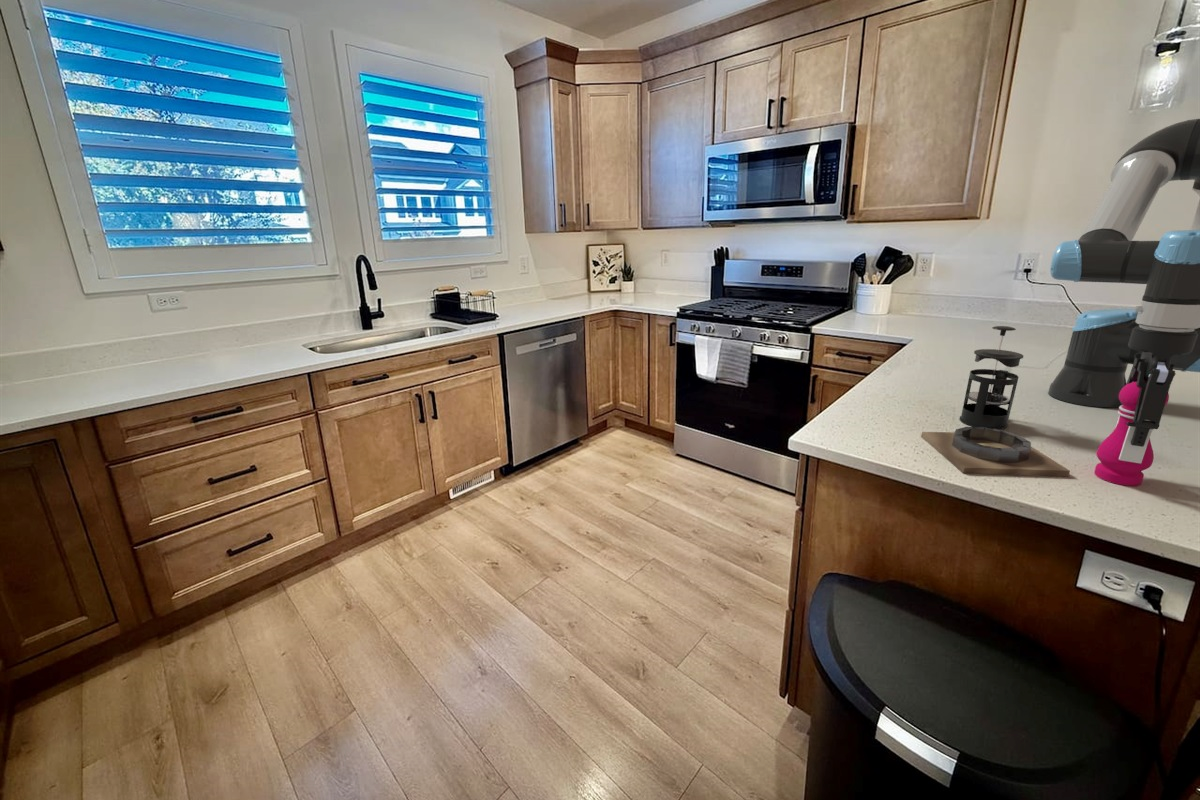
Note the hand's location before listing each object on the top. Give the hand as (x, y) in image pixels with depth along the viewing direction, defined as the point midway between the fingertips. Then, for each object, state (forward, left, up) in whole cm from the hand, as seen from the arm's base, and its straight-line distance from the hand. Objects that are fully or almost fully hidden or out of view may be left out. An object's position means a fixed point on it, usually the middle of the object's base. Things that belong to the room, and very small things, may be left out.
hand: (1125, 452), depth 92 cm
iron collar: (+17, -9, -4) cm, 20 cm away
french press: (+8, -28, -5) cm, 30 cm away
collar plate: (+17, -9, -5) cm, 20 cm away
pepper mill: (0, 0, -5) cm, 5 cm away
